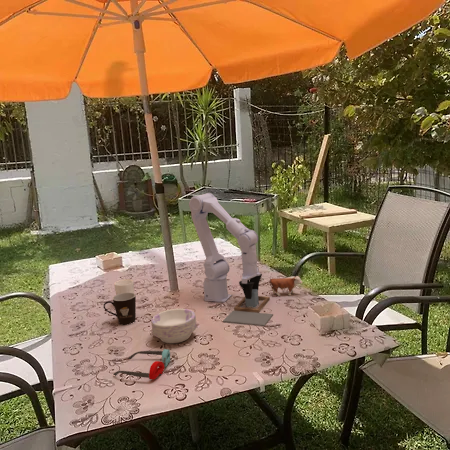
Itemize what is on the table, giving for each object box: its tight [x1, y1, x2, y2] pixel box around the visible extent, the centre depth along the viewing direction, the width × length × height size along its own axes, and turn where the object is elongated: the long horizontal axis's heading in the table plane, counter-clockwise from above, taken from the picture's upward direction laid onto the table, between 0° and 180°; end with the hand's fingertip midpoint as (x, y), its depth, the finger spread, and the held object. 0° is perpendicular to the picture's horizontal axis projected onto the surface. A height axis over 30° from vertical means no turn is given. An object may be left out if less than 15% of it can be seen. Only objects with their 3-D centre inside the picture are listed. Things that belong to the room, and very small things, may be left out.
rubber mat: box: [222, 310, 274, 327], centre depth 174 cm, size 16×10×1 cm, turn 67°
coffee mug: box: [102, 292, 137, 326], centre depth 179 cm, size 12×9×10 cm
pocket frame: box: [233, 295, 271, 313], centre depth 186 cm, size 10×14×1 cm
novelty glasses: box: [112, 348, 171, 380], centre depth 142 cm, size 14×15×5 cm
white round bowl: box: [150, 308, 198, 344], centre depth 162 cm, size 15×15×8 cm
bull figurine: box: [269, 275, 303, 297], centre depth 194 cm, size 4×13×8 cm, turn 78°
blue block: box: [245, 288, 260, 308], centre depth 186 cm, size 4×4×6 cm
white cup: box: [113, 278, 135, 295], centre depth 196 cm, size 8×8×10 cm
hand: (251, 295), depth 186 cm, fingers open, 7 cm apart
